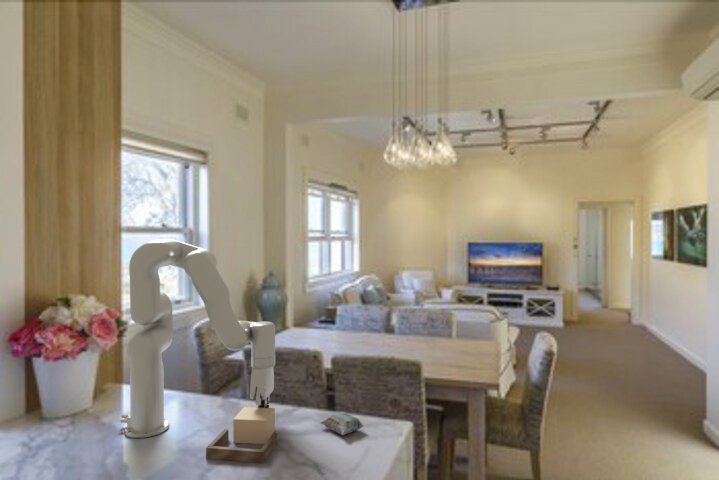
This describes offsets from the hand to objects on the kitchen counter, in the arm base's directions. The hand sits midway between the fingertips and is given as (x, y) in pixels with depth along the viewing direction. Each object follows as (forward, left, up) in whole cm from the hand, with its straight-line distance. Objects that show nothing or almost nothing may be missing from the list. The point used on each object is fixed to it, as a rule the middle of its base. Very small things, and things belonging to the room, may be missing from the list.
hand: (263, 417), depth 142 cm
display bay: (0, -16, -3) cm, 16 cm away
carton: (0, -7, -3) cm, 8 cm away
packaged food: (+25, 0, -3) cm, 25 cm away
